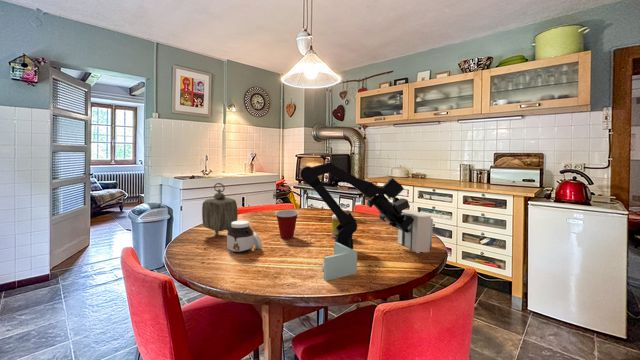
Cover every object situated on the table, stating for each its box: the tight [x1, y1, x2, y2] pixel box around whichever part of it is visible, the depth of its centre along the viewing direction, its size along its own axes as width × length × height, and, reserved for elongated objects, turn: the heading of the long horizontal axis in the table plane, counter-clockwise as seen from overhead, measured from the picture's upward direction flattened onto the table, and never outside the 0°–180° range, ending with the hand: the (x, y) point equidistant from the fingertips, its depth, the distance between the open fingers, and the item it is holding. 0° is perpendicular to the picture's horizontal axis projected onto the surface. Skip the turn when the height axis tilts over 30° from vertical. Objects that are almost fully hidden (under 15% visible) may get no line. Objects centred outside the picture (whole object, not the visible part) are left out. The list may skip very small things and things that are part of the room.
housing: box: [397, 209, 432, 254], centre depth 125 cm, size 6×14×15 cm, turn 16°
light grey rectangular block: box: [404, 218, 434, 249], centre depth 125 cm, size 10×5×12 cm, turn 106°
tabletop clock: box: [201, 182, 239, 239], centre depth 137 cm, size 14×9×25 cm, turn 58°
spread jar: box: [226, 220, 263, 255], centre depth 119 cm, size 12×11×12 cm
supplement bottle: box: [331, 208, 345, 238], centre depth 140 cm, size 7×7×13 cm
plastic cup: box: [274, 209, 300, 240], centre depth 137 cm, size 11×11×12 cm
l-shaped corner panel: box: [321, 241, 358, 282], centre depth 99 cm, size 12×12×8 cm
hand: (407, 231), depth 124 cm, fingers closed, pressing on light grey rectangular block
